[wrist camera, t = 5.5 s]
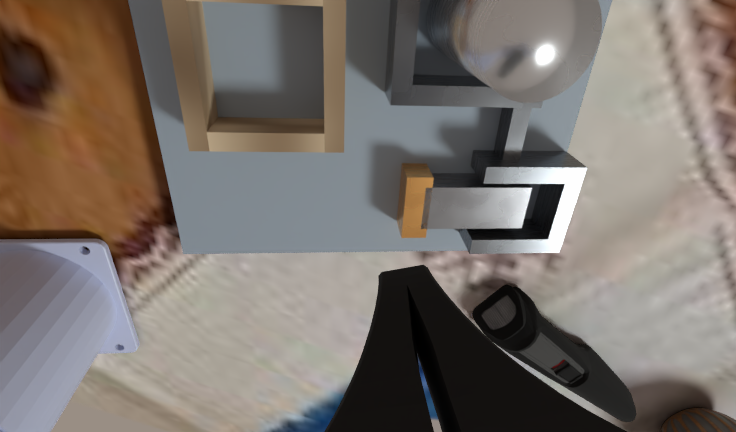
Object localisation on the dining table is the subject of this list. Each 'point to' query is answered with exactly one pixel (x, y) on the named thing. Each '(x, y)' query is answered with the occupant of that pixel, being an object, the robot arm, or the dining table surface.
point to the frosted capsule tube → (518, 42)
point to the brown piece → (253, 133)
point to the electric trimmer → (551, 351)
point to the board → (306, 100)
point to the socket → (507, 159)
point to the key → (456, 202)
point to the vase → (699, 421)
